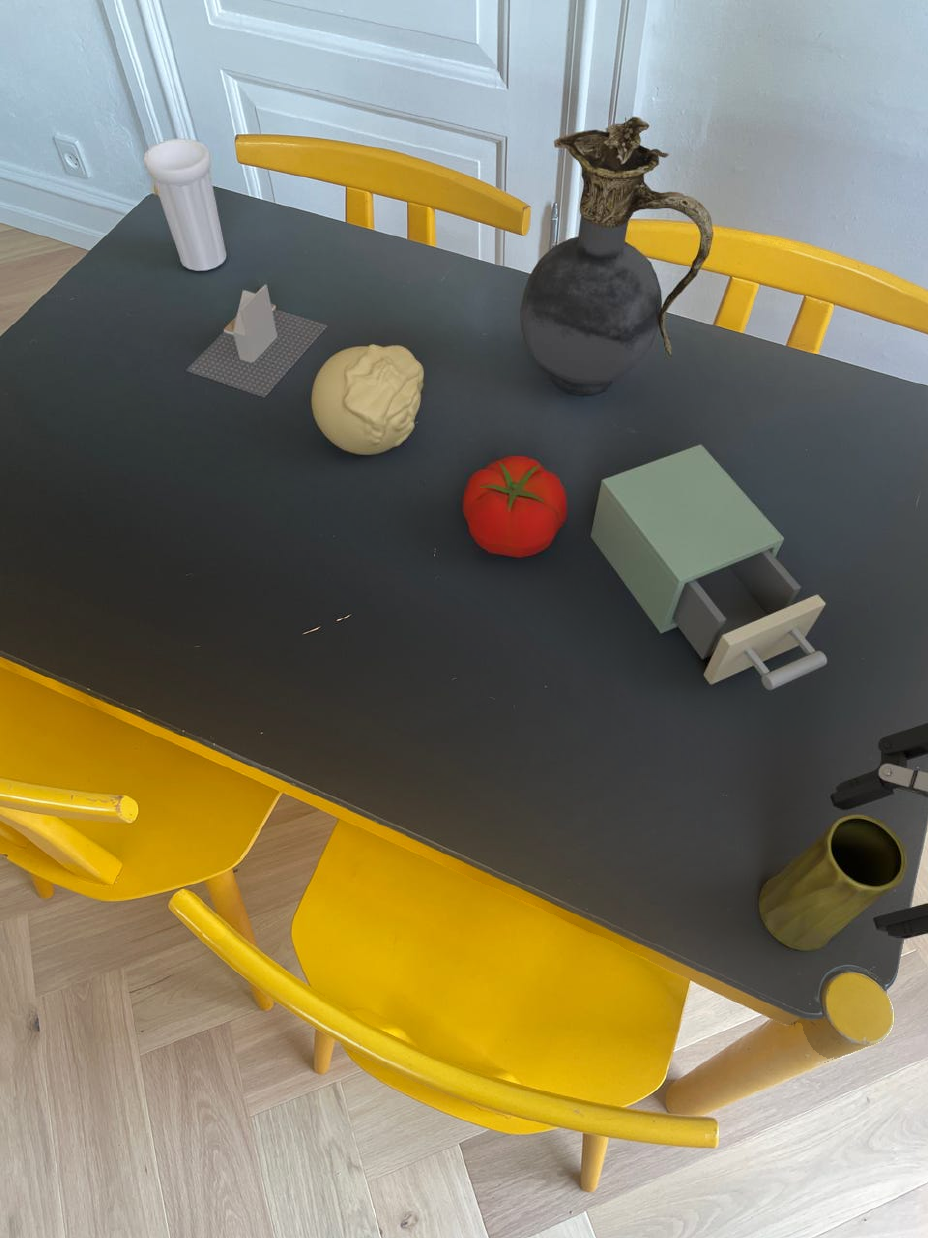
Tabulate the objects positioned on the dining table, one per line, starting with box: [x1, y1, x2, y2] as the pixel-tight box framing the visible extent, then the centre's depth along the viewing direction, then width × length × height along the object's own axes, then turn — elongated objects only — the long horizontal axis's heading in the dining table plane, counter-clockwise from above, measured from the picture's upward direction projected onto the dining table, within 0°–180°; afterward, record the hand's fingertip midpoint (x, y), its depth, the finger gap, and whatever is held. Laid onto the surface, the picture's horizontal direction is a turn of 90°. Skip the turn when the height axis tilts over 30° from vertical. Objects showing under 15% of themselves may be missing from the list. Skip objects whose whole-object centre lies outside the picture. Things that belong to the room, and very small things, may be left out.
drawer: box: [672, 550, 828, 691], centre depth 80 cm, size 17×10×7 cm, turn 25°
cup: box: [143, 138, 227, 272], centre depth 112 cm, size 8×8×14 cm
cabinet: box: [590, 444, 785, 634], centre depth 85 cm, size 14×12×9 cm
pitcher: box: [519, 116, 714, 397], centre depth 92 cm, size 11×19×30 cm, turn 65°
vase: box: [758, 814, 908, 952], centre depth 63 cm, size 6×6×14 cm
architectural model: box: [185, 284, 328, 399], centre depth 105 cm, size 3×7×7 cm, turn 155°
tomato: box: [462, 455, 568, 559], centre depth 88 cm, size 11×11×8 cm
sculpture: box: [311, 343, 425, 456], centre depth 94 cm, size 12×12×11 cm
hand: (856, 862), depth 59 cm, fingers open, 8 cm apart
